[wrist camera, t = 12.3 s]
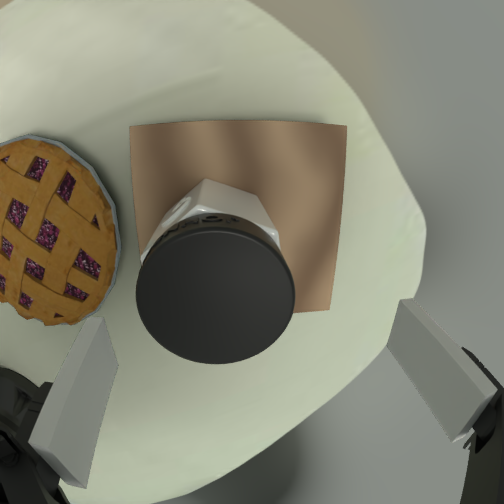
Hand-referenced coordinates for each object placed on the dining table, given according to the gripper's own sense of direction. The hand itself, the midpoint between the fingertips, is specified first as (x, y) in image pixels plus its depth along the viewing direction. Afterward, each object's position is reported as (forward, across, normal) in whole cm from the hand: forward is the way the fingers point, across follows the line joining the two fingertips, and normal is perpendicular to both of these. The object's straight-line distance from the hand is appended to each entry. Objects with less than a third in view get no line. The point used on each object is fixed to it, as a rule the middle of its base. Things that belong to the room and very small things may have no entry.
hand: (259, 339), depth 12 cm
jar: (+15, -2, 0) cm, 15 cm away
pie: (+20, -22, -1) cm, 30 cm away
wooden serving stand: (+20, 0, 0) cm, 20 cm away
